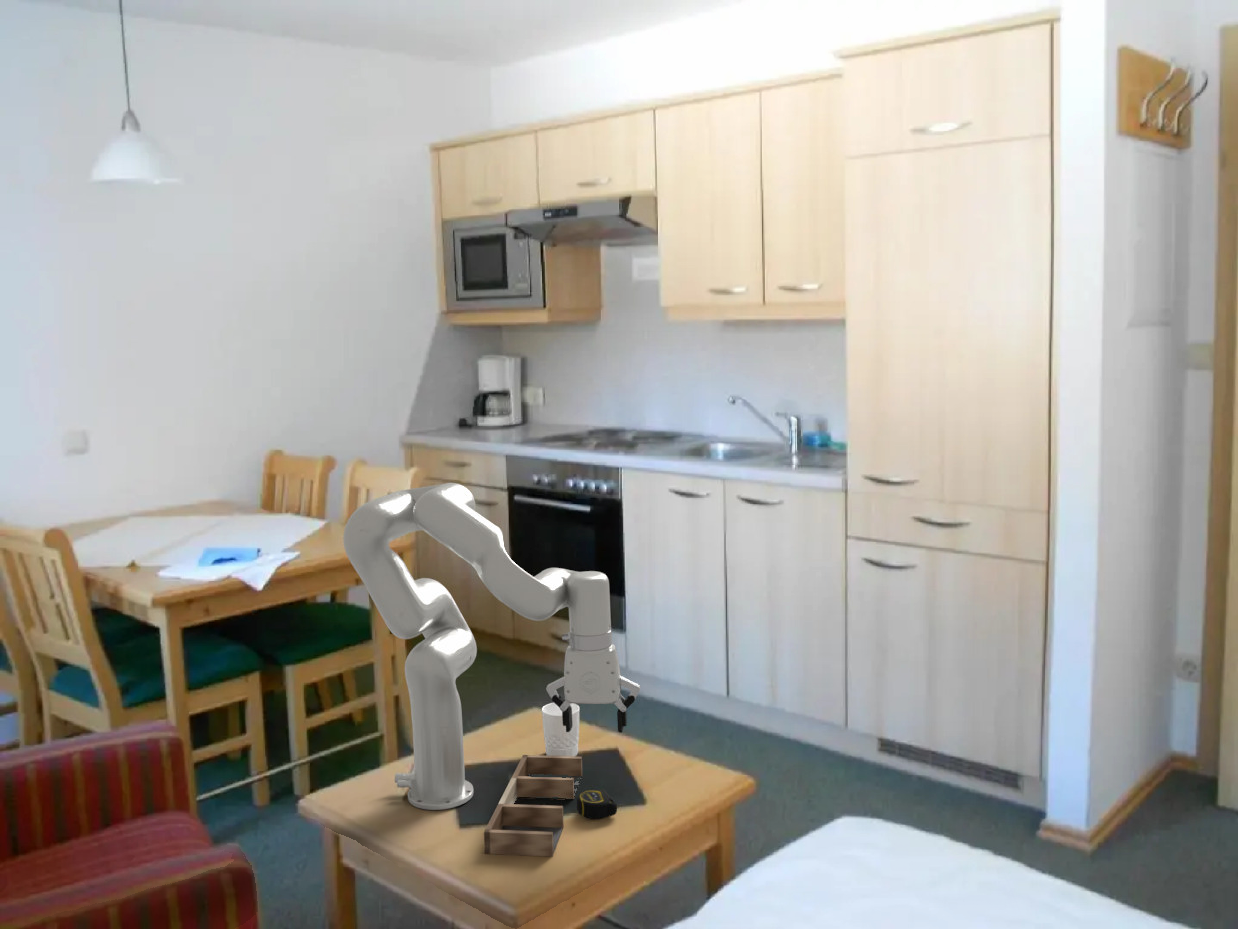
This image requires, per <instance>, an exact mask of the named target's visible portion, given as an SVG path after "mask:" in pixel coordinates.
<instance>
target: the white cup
mask: <svg viewBox="0 0 1238 929" xmlns="http://www.w3.org/2000/svg"><path fill="white" fill-rule="evenodd" d="M570 706H571V707H572V728H571V731H569V732H566V726H563V720H562V711H561V710H560V708H559V707H558V706H557V705H556V704H555V703H554V702H551V703H548V704H545V705H543V706H542V708H541V715H542V727H543V728H542V729H543V730H542V731H543V738H544V740H543V741H544V745H545V756H578V753H579V739H580V735H579V734H580V706H579V704H575V703H571V704H570Z"/></svg>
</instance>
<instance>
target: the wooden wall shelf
mask: <svg viewBox="0 0 1238 929" xmlns="http://www.w3.org/2000/svg"><path fill="white" fill-rule="evenodd" d="M528 774H530V776H529V775H528ZM532 774H537V775H538V774H544V775H546V774H552V775H568V776H572V777H571V778H570V777H566V778H562V777H531V775H532ZM577 776H578V777H577ZM580 776H582V777H583V757H582V756H578V755H576V756H547V755H541V754H540V755H539V754H538V755H537V754H535V755H533V754H532V755H531V754H523V755H522V757H521V759H520V761H519V762H518V764H517V766H516V768H515V770H514V772H513V774H512V776H511V778H510V780H509V782H508V784H507V785H506V788H505V790H504V792H503V794H502V796H501V798H500V800H499V802H498V804H497V805H496V808H495V809H494V811H493V814H492V816H491V818H490V820H489V822H488V823H487V826H486V827H485V829H484V832H483V840H484V841H483V842H484V843H483V844H484V854H487V855H506V856H507V855H509V856H510V855H511V856H530V857H531V856H536V857H554V854H555V851H556V849H557V845H558V843H559V841H560V838H561V835H562V832H563V829H564V824H565V822H564V806H563V805H549V804H548V805H546V804H542V805H540V804H514V803H516V802H515V801H517V799H518V798H517V797H550V798H552V797H558V798H566V799H574V800H575V797H576V794H577V792H578V789H577V788H576V789H574V785H580V783H578V782H579V781H576V782H575V783H574V779H579V778H580ZM580 779H581V780H582V778H580ZM574 791H575V793H576V794H575V793H574ZM576 791H577V792H576ZM574 796H575V797H574ZM516 798H517V799H516Z"/></svg>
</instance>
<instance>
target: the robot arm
mask: <svg viewBox="0 0 1238 929" xmlns="http://www.w3.org/2000/svg"><path fill="white" fill-rule="evenodd" d="M344 526H345V527H344V530H343V538H342V539H343V548H344V551H345V554H346V556H347V558H348V561H349V562H350V564H351V565H352V567H353V569H354V570H355V572H356V573H357V575H358V576H359V578H360V579H361V581H362V583H363V585H364V587H365V588H366V590H367V592H368V594H369V596H370V598H371V600H372V602H373V603H374V605H375V607H376V609H377V611H378V612H379V614H380V616H381V617H382V619H383V621H384V624H385V625H386V626H387V628H388V630H389V631H390V632H391V634H393V636H395V637H396V638H398V639H401V640H410V639H413V638H415V637H418V636H419V635H421V634H422V635H423V637H424V639H423V640H422V641H420V642H418V643H417V644H416V645H415V646H413V648H412V649H411V650H410V652H409V653H408V655H407V656H406V660H405V663H404V676H405V681H406V686H407V689H408V693H409V694H408V695H409V702H410V711H411V714H410V715H411V723H412V742H413V743H412V744H413V745H412V746H413V758H414V759H413V763H414V766H413V767H414V771H412V772H411V773H405V772H396V773H395V775H394V782H395V783H394V784H396V787H397V788H408V789H409V790H408V792H407V800H408V802H409V804H411V805H412V806H414V807H415V808H418V809H421V810H426V811H427V810H428V811H438V810H439V811H440V810H441V811H442V810H448V809H452V808H456V807H459V806H461V805H463V804H465V803H467V802H469V801H470V800H471V799H472V798H473V796H474V786H473V784H472V783H471V782H469V781H468V780H466V779H465V778H466V776H465V773H466V772H465V755H464V754H465V752H464V735H463V734H464V732H463V730H464V729H463V728H464V727H463V715H462V714H463V713H462V703H461V702H462V701H461V699H460V698H461V697H460V694H459V691H458V689H457V685H456V684H457V683H456V680H457V678H458V677H460V676H461V675H462V674H463V673H464V672H465V671H466V670H468V669H469V668H470V667H471V666H472V665H473V663H474V662H475V660H476V657H477V652H478V648H477V642H476V640H475V637H474V634H473V633H472V630H471V628H470V627H469V625H468V623H467V621H466V619H465V618H464V616H463V614H462V612H461V610H460V609H459V606H458V605H457V603H456V601H455V600H454V598H453V596H452V594H451V592H449V590H448V589H447V588H446V587H445V586H444V585H443V584H442V583H441V582H440V581H438V580H436V579H432V578H428V577H422V578H417V579H414V578H413V575H412V574H411V572H410V571H409V569H408V567H407V565H406V563H405V562H404V560H403V559H402V558H401V557H400V556H399V555H398V553H397V552H395V551H394V550H393V549H392V548H391V547H390V543H391V542H392V541H394V540H396V539H399V538H402V537H403V536H406V535H407V534H410V533H413V532H419V531H423V532H425V533H426V534H427V535H429V536H430V537H431V538H433V539H434V540H436V541H437V542H438V543H440V544H441V545H443V546H444V547H446V548H447V549H448V550H450V551H451V552H452V553H454V554H456V555H457V556H458V557H459V558H461V559H463V560H464V561H465V562H467V563H468V564H469V565H471V566H472V567H473V568H474V569H475V571H476V573H477V575H478V576H479V579H480V580H481V582H482V583H483V584H484V586H485V587H486V588H487V590H488V591H489V592H490V593H491V594H492V595H493V596H494V597H495V598H496V599H497V600H499V601H500V602H501V603H503V605H505V606H506V607H508V608H510V609H511V610H512V611H514V612H515V613H517V614H518V615H520V616H521V617H524V618H526V619H528V620H531V621H535V622H536V621H539V622H540V621H545V620H547V619H550V618H551V617H553V616H554V615H555V614H556V613H557V612H558V611H559V610H562V609H564V608H568V618H569V619H568V621H569V622H568V623H569V631H568V632H566V633H562V637H561V639H562V642H566V643H568V644H569V645H568V646H567V647H566V650H565V654H564V670H563V676H562V677H561V678H558V679H556V680H554V681H553V682H550V683H548V684H547V686H546V688H545V689H546V692H547V694H548V695H549V697H550V699H551V701H552V703H555V704H556V705H557V706H558V707H559V708H560V710H561V711H562V720H563V726H566V732H569V731H571V728H572V707H571V706H570V704H571V703H574V704H577V705H579V704H580V705H582V704H583V705H584V704H585V705H587V704H588V705H591V704H592V705H597V704H599V705H602V704H603V705H607V704H608V705H610V704H614V705H615V706H616V707H617V708H618V709H617V711H616V712H617V713H616V716H617V718H616V719H617V720H616V721H617V732H618V733H620V734H621V733H622V734H623V730H624V727H627V725H628V722H627V721H628V720H627V719H628V717H627V716H628V714H627V709H628V708H630V706H631V705H632V704H633V703H634V702H635V700H636V698H637V696H638V695H639V692H640V690H641V685H640V684H638V683H637V682H634V681H632V680H630V679H628V678H626V677H624V676H622V675H621V668H620V662H619V656H618V652H617V648H616V645H615V644H614V643H613V642H612V619H611V598H610V597H611V595H610V594H611V593H610V580H609V578H608V576H607V575H606V573H604V572H601V571H595V570H589V571H587V570H586V571H577V570H576V571H575V570H570V569H566V568H561V567H560V568H559V567H549V568H546V569H544V570H541V572H539V573H538V574H536V575H534V576H533V575H531V574H530V573H528V572H527V571H525V570H524V568H522V567H520V566H519V565H518V564H516V563H515V561H514V560H512V559H511V556H509V554H508V553H507V551H506V548H505V546H504V545H505V544H504V533H503V531H502V529H501V528H500V527H499V526H497V525H495V523H493V522H492V521H490V520H488V519H487V518H486V517H484V515H483V516H482V515H481V514H480V513H479V512H477V511H476V500H475V498H474V495H473V494H472V492H471V491H470V490H469V489H468V488H467V487H465V485H462V484H461V483H457V482H456V483H455V482H447V483H442V484H435V485H429V486H423V487H422V486H421V487H414V488H408V489H401V490H398V491H394V492H391V493H389V494H386V495H384V496H380V497H377V498H375V499H372V500H370V501H368V502H365V503H364V504H362V505H360V506H359V507H358V508H357V509H356V510H355V511H354V512H353V513H352V514H351V515H350V517H349V518H348V520H347V522H346V524H345V525H344ZM561 687H563V693H564V694H563V695H564V697H562V695H561V694H559V693H558V691H557V689H560V688H561ZM622 687H624V688H626V689H627V690H628V691H630V694H629V695H627V697H626V698H625V697H624V696H623V695H622V694H621V693H622Z"/></svg>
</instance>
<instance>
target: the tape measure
mask: <svg viewBox="0 0 1238 929" xmlns="http://www.w3.org/2000/svg"><path fill="white" fill-rule="evenodd" d="M576 811H577V812H578V814H579V815H580V816H581V817H583V818H584V819H587V820H594V821H595V820H602V819H605V818H609V817H611V816H615V815H616V814H617V811H618V806H617V803H616V802H615V801H614V799H613V798H612V796H610V795H609V793H608V791H607V790H606V789H604V788H601V789H597V790H596V789H595V790H593V789H591V790H585V791H584V792H581V793H579V795H578V797H577V799H576Z"/></svg>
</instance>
